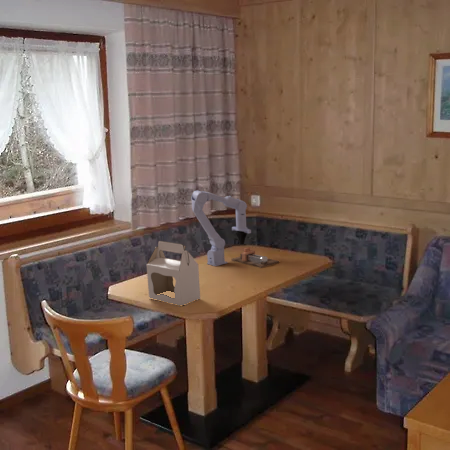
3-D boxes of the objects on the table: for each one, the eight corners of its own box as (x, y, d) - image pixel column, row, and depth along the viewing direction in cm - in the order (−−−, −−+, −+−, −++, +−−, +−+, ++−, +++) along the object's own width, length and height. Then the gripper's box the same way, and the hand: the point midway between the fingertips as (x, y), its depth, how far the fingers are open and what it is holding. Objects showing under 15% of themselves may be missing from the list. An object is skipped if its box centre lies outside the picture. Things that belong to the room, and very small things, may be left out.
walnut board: (279, 262, 367) (279, 261, 367) (261, 268, 358) (261, 266, 358) (249, 255, 386) (249, 254, 386) (231, 260, 377) (231, 258, 377)
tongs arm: (263, 261, 367) (263, 256, 366) (261, 261, 366) (261, 256, 365) (246, 257, 378) (245, 252, 377) (244, 257, 377) (244, 252, 376)
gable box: (201, 299, 310) (197, 242, 304) (182, 307, 300) (178, 248, 295) (167, 291, 324) (163, 237, 319) (148, 299, 314) (144, 242, 309)
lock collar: (255, 258, 374) (254, 247, 373) (245, 261, 370) (244, 250, 368) (251, 257, 377) (251, 246, 375) (241, 260, 372) (241, 249, 371)
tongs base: (269, 263, 363) (268, 257, 363) (263, 264, 361) (263, 258, 360) (246, 257, 378) (245, 251, 377) (240, 259, 375) (240, 253, 374)
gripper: (254, 221, 370) (255, 244, 373) (238, 218, 381) (239, 240, 384) (245, 223, 366) (246, 246, 368) (228, 220, 377) (229, 243, 379)
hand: (242, 244), depth 376 cm, fingers closed
